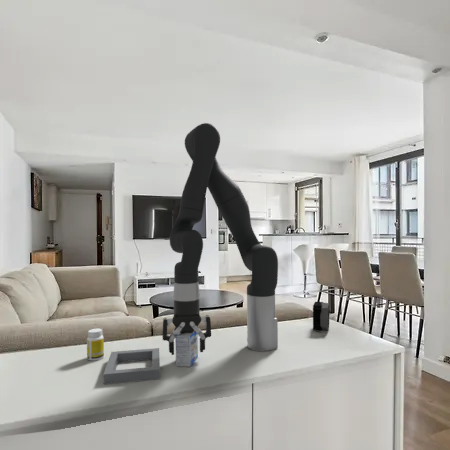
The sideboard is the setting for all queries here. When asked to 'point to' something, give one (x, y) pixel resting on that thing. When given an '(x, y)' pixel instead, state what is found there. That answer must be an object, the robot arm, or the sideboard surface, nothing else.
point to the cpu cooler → (321, 316)
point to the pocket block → (137, 373)
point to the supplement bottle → (95, 345)
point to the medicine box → (186, 348)
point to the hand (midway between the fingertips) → (187, 352)
